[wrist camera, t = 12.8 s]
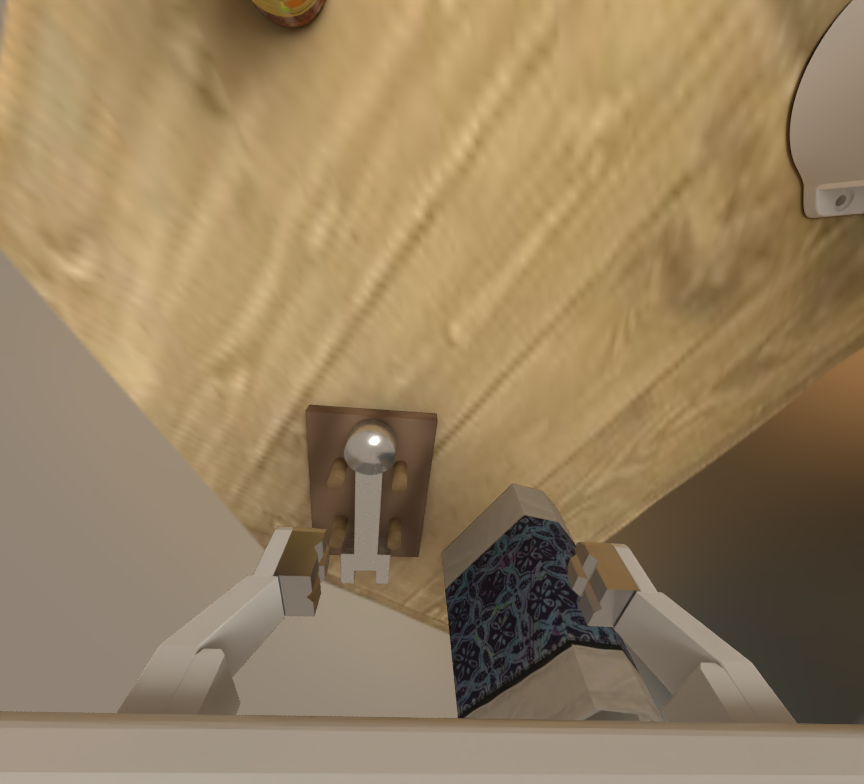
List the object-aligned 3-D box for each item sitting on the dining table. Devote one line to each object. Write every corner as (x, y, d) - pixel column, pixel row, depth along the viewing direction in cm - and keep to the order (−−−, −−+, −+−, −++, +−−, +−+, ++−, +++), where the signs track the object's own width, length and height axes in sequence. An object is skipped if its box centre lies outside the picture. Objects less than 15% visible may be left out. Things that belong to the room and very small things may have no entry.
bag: (480, 578, 51) (647, 1406, 15) (435, 558, 48) (507, 1505, 12) (564, 504, 45) (1170, 1575, 9) (518, 476, 42) (1115, 1830, 7)
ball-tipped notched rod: (345, 416, 35) (339, 432, 33) (401, 420, 36) (400, 435, 33) (345, 562, 45) (341, 583, 42) (389, 563, 46) (387, 583, 43)
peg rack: (436, 413, 37) (440, 438, 33) (418, 547, 47) (418, 581, 42) (309, 404, 36) (295, 429, 32) (316, 544, 46) (306, 579, 41)
